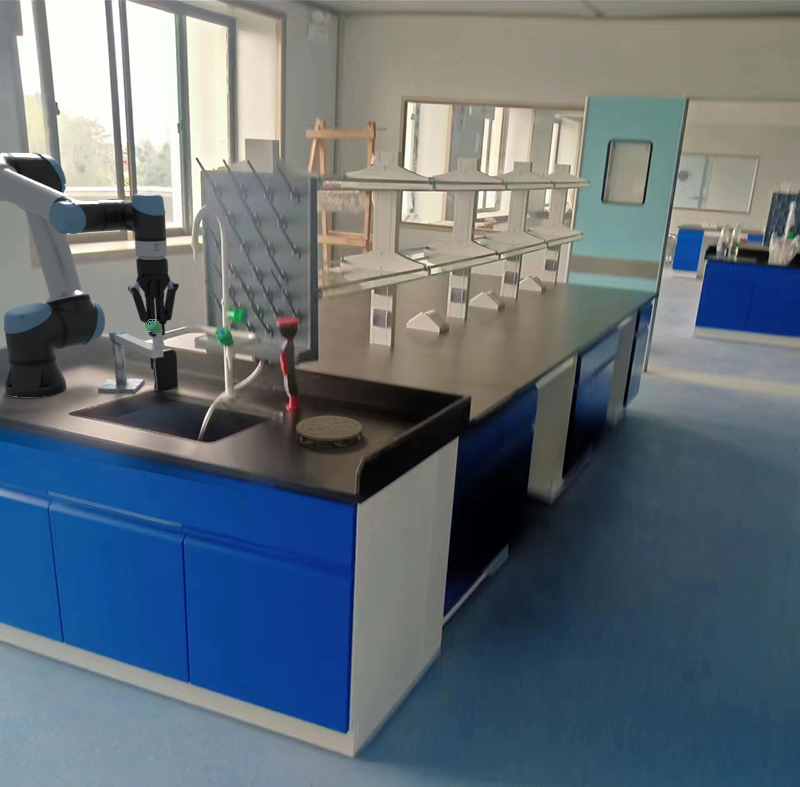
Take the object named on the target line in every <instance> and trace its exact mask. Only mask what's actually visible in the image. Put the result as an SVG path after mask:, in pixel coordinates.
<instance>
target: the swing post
mask: <svg viewBox="0 0 800 787" xmlns="http://www.w3.org/2000/svg"><path fill="white" fill-rule="evenodd" d="M111 342H112V352H113V363H114V365H113V366H114V376H115V378H113V377H112V378H108V379H107V380H106V381H104V382H103V383H102V384H101V385H100V386H99V387H97V393H100V394H104V393H105V394H136V393H137V392H138V391H139V390H140V389H141V387H142V386H143V385H144V384H145V382H146V381H145V378H127V377H128V376H127V375H128V374H127V365H126V364H127V363H126V351H125V349H126V348H125V346H124V345H122V344H120V343H117V342H114V341H111Z"/></svg>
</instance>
